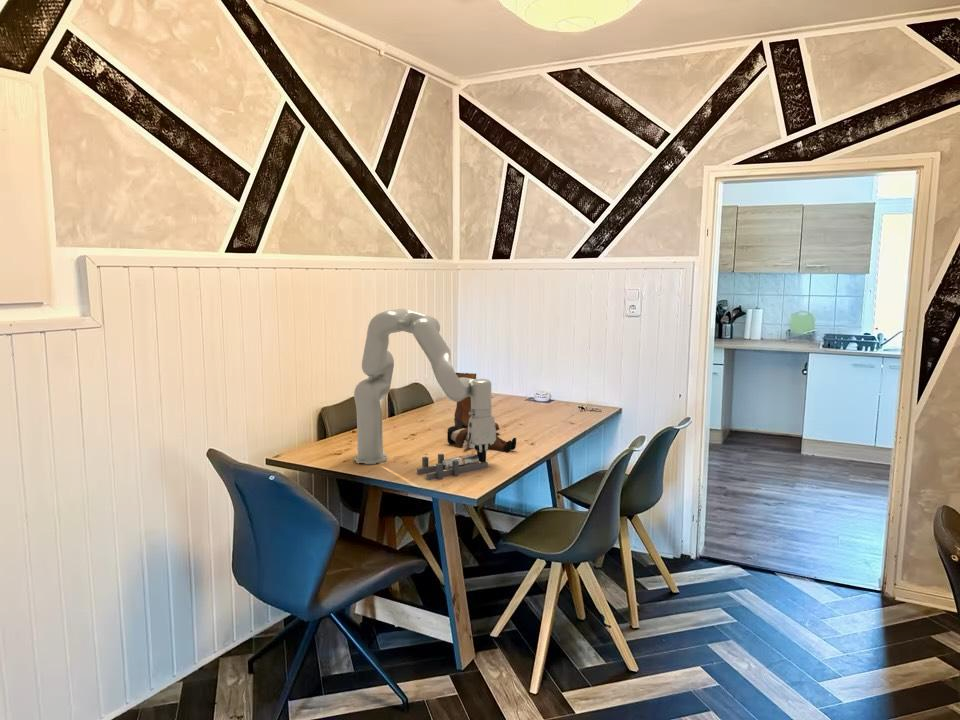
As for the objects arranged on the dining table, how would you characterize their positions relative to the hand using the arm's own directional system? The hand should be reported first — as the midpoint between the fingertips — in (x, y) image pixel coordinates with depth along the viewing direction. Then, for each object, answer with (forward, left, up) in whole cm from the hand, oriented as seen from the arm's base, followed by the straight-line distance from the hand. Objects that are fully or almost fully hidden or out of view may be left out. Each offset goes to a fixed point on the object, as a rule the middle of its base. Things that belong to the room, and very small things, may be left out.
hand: (481, 461), depth 234 cm
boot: (-47, +29, -3) cm, 55 cm away
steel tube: (0, -9, -1) cm, 9 cm away
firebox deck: (0, -12, -2) cm, 13 cm away
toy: (-22, +15, -3) cm, 27 cm away
